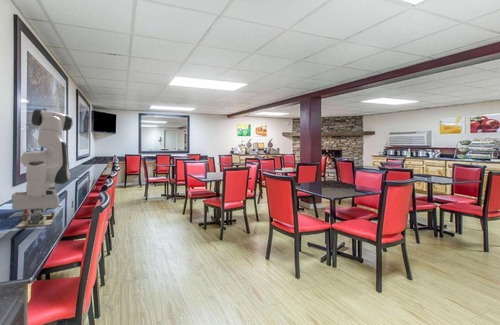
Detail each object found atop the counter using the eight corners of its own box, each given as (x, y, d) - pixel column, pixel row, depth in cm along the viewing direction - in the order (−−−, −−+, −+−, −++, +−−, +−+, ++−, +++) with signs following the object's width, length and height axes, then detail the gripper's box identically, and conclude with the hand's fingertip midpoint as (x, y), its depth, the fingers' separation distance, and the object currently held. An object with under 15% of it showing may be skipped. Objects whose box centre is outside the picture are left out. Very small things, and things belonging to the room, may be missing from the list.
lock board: (26, 218, 162) (26, 212, 162) (55, 216, 170) (55, 210, 169) (17, 229, 142) (17, 222, 142) (50, 226, 149) (50, 219, 149)
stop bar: (39, 222, 147) (38, 215, 147) (31, 223, 146) (31, 216, 145) (41, 216, 156) (41, 209, 155) (34, 217, 154) (34, 210, 153)
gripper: (10, 193, 141) (10, 220, 142) (58, 191, 152) (58, 216, 152) (12, 191, 147) (13, 217, 147) (59, 189, 157) (59, 213, 158)
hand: (36, 216), depth 150 cm, fingers closed on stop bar, 3 cm apart
